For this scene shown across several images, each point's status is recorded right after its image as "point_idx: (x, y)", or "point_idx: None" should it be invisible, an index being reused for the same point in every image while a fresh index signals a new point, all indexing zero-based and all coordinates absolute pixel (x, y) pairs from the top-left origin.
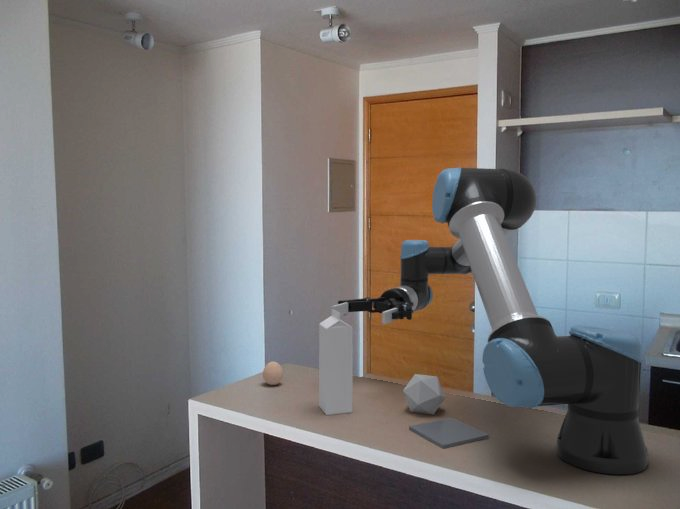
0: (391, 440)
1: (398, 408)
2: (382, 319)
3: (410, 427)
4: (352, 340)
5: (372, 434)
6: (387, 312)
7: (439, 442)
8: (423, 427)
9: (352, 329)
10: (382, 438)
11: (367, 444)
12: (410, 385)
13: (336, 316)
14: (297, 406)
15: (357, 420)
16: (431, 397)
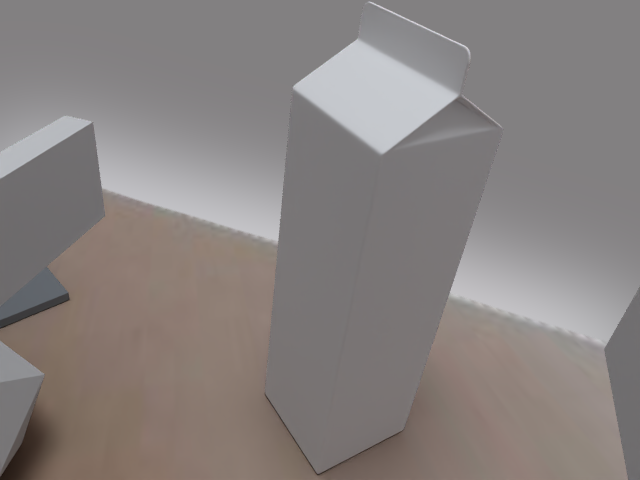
0: (132, 243)
1: (71, 471)
2: (98, 182)
3: (65, 289)
4: (287, 151)
5: (182, 265)
6: (35, 141)
7: None
8: (22, 290)
9: (292, 97)
10: (155, 249)
11: (192, 224)
12: (4, 350)
13: (395, 45)
14: (479, 419)
15: (235, 337)
16: None
